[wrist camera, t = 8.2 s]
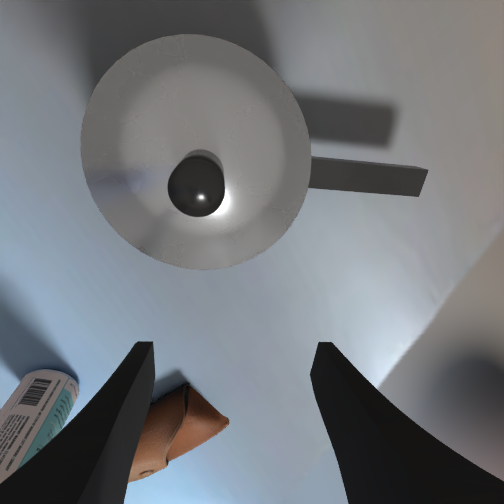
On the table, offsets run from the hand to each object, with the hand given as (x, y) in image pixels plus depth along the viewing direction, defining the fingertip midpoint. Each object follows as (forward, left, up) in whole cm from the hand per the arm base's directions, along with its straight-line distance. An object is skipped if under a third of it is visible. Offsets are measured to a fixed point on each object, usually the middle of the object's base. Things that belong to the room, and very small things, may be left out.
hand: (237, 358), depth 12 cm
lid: (-2, +7, -6) cm, 10 cm away
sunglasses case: (-8, -22, -11) cm, 26 cm away
